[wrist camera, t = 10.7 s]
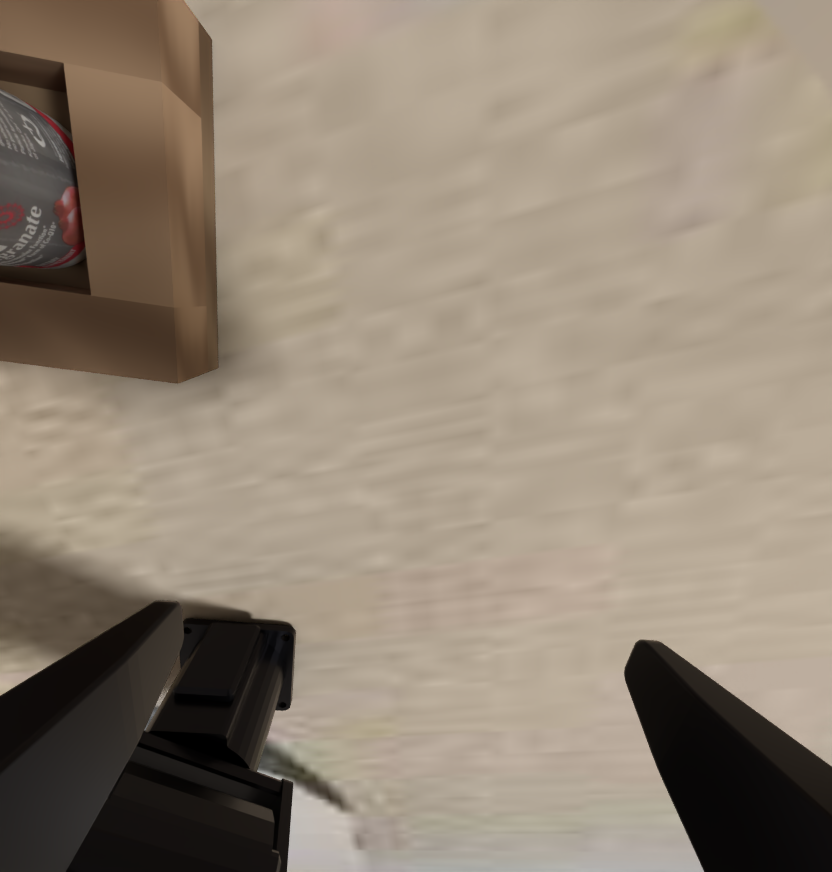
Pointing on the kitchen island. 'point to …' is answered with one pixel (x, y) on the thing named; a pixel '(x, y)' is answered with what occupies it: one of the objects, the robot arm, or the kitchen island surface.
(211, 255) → the socket block
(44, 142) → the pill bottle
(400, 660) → the kitchen island surface
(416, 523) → the kitchen island surface
